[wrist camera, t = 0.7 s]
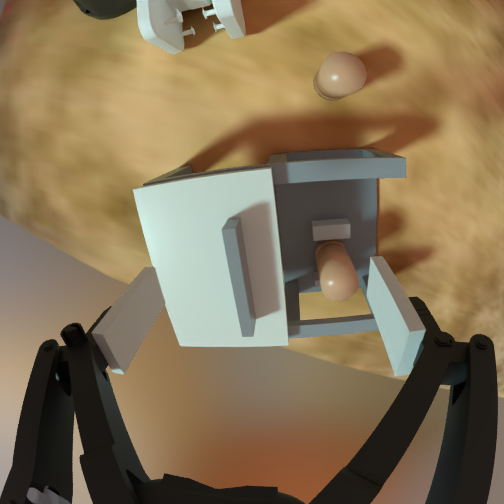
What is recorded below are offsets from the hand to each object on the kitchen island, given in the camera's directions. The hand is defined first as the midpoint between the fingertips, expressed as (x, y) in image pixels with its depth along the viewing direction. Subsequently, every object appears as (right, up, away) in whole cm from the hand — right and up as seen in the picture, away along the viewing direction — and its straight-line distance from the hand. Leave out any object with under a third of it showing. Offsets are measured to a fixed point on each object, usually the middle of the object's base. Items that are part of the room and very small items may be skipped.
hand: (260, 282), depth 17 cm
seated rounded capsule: (+11, +2, +23) cm, 26 cm away
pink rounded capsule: (+10, +23, +14) cm, 29 cm away
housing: (+4, +5, +23) cm, 24 cm away
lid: (-4, 0, +14) cm, 15 cm away
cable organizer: (-7, +36, +11) cm, 38 cm away
